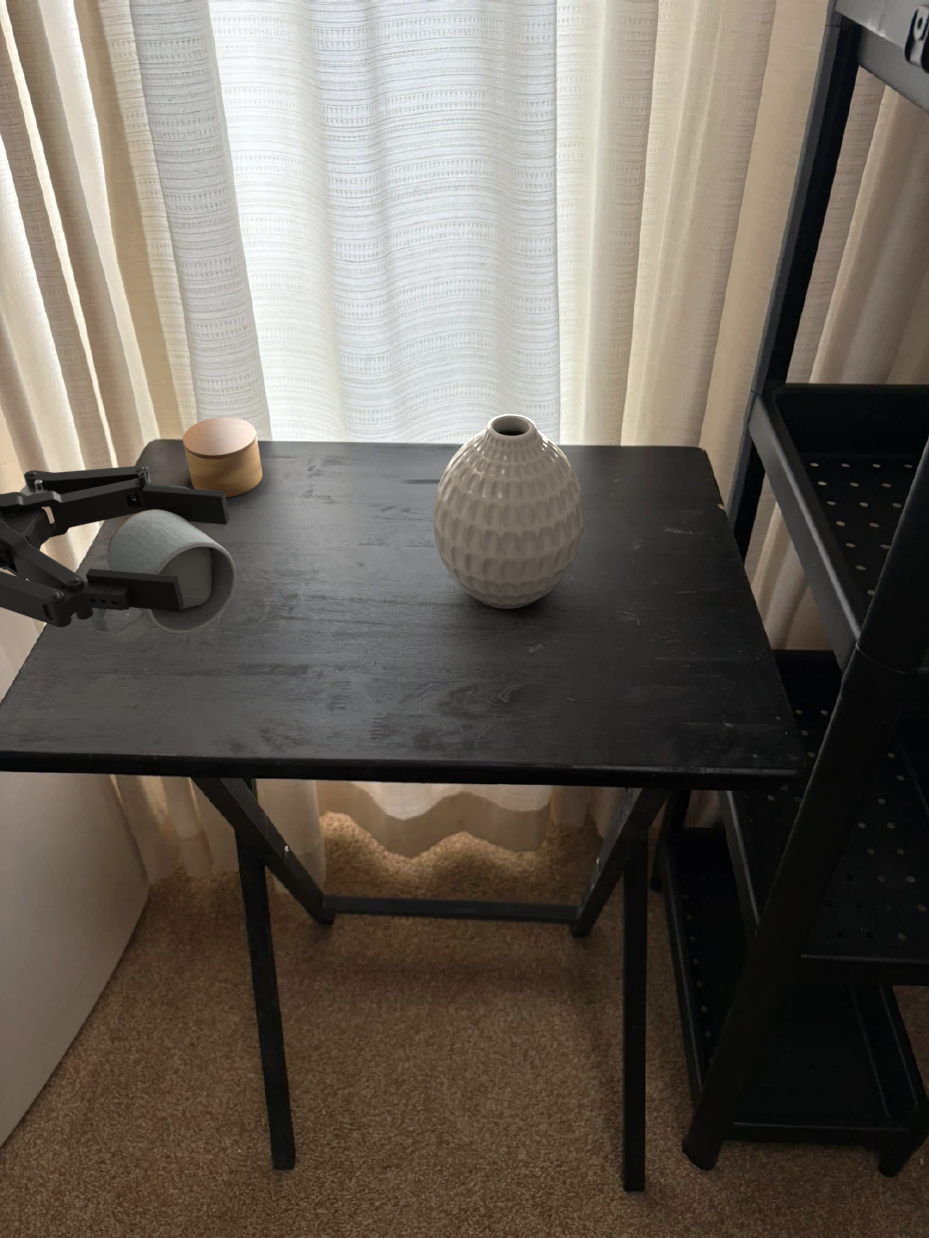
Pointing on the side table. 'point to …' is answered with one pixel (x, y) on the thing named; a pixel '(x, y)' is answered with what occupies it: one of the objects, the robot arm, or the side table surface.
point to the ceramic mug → (170, 573)
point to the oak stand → (223, 455)
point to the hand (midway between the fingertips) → (203, 549)
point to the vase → (508, 514)
